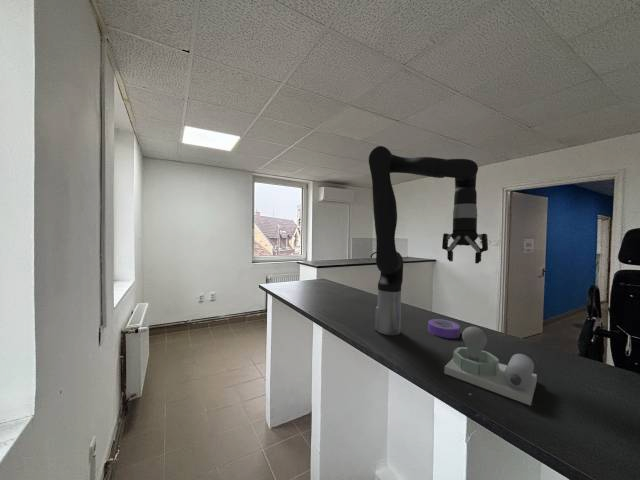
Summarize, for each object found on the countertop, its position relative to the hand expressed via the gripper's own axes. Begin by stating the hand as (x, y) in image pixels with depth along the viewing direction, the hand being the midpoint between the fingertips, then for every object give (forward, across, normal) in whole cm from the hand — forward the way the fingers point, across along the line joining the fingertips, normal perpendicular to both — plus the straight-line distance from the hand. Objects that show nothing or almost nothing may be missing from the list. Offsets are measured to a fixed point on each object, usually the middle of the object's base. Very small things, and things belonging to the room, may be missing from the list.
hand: (463, 262), depth 91 cm
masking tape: (+31, -9, +8) cm, 33 cm away
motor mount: (+30, +12, -18) cm, 37 cm away
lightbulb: (+28, +8, -18) cm, 34 cm away
